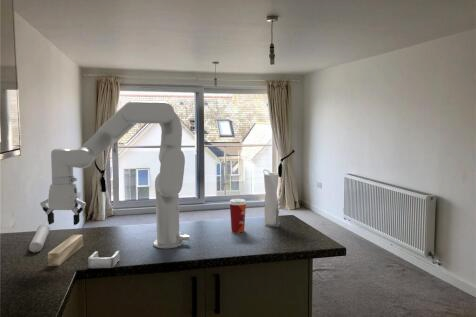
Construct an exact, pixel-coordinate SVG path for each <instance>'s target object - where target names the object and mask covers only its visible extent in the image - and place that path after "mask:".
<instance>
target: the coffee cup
mask: <svg viewBox="0 0 476 317" xmlns="http://www.w3.org/2000/svg"><path fill="white" fill-rule="evenodd" d="M228 204H229V209H230V210H229V211H230V212H229V213H230V229H231V233H234V232H235V234H241V233H240V232H242V233H244V232H245V226H246V225H245V222H246V210H247V209H246V204H247V201H246V199H244V198H231V199H230V200H229V202H228Z"/></svg>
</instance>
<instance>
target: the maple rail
mask: <svg viewBox="0 0 476 317" xmlns="http://www.w3.org/2000/svg"><path fill="white" fill-rule="evenodd" d="M82 247H84V235H83V234H72V235H71V236H70V237H68V238H67V239H65V240H64V241H62V242H61V243H60V244H59V245H57V246H56V247H54V248H53V249H51V250H50V251H49V252H48V253H47V262H48V264H47V265H48V267H55V266H57V267H59V266H61V265H62V264H63V263H65V261H67V260H68V259H69V258H70V257H72V256H73V255H74V254H75V253H76V252H78V250H80V249H82Z"/></svg>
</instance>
